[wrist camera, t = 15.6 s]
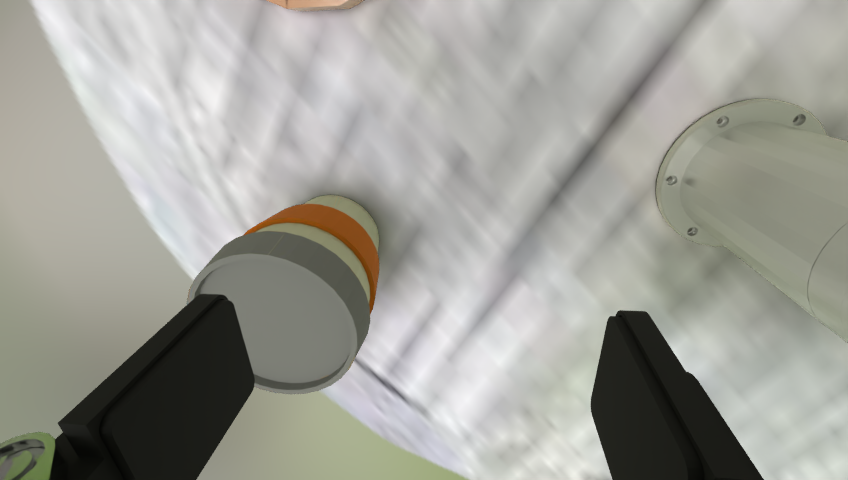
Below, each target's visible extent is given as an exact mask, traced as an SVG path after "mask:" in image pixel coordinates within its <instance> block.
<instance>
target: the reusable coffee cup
mask: <svg viewBox="0 0 848 480" xmlns="http://www.w3.org/2000/svg"><path fill="white" fill-rule="evenodd" d="M378 247H379V234H378V230H377V227H376V224H375V222H374V220H373V219H372V217H371V216H370V214H369V213H368V212H367V211H366V210H365V209H364V208H363V207H362V206H360V205H359V204H357V203H356V202H354V201H352V200H350V199H348V198H345V197H341V196H337V195H325V196H319V197H316V198H313V199H311V200H310V201H308V202H306V203H304V204H301V205H295V206H292V207H289V208H287V209H284V210H283V211H281V212H279V213H277V214H275V215H274V216H272V217H270V218H268V219H266V220H265V221H263V222H261V223H259V224H258V225H256V226H254V227H253V228H251V229H250V230H248V231H247V232H246V233H245V234H244V235H243V236H241V237H238V238H236V239H234V240H232V241H231V242H229V243H228V244H226V245H224V247H223V248H222V249H221V250H220V251H219V252H218V253H217V254H216V255H215V256H214V257H213V258H212V260H211V261H210V262H209V263H208V264H207V265H206V266H205V268H204V269H203V270H202V271H201V272H200V273H199V274H198V276H197V277H196V278H195V280H194V282H193V284H192V285H191V287H190V289H189V294H188V298H187V305H188V304H189V303H190V302H191V301H192V300H193V299H194V298H195V297H196V296H198V295H199V294H222V295H225V296H226V297H227V298H228V300H229V301H232V302H233V304H234V307H235V311H236V314H237V318H238V321H239V325H240V328H241V332H242V335H243V339H244V342H245V346H246V349H247V353H248V356H249V360H250V363H251V367H252V370H253V374H254V378H255V384H254V387H256V388H259V389H262V390H266V391H270V392H275V393H283V394H304V393H310V392H314V391H319V390H321V389H323V388H326V387H328V386H331V385H332V384H333V383H335V382H336V381H338V380H339V379H341V378H342V376H343V375H344V374H345V373H346V372H347V371H348V370H349V368H350V366H351V364H352V363H353V361H354V359H355V357H356V355H357V353H358V351H359V349H360V347H361V346H362V344H363V342H364V340H365V338H366V336H367V334H368V329H369V324H370V314H371V312H372V310H373V305H374V301H375V295H376V288H377V282H378V275H379V258H378V254H377V253H378Z"/></svg>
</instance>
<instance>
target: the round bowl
mask: <svg viewBox="0 0 848 480" xmlns="http://www.w3.org/2000/svg"><path fill="white" fill-rule="evenodd" d="M267 1H269V2H272V3H274V4H277V5H279V6H282V7H284V8H286V9H291V10H297V11H319V10H337V9H351V8H352V7H354V6H356V5H358V4H359V3H361V2H363V1H365V0H267Z"/></svg>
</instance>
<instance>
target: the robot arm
mask: <svg viewBox="0 0 848 480" xmlns="http://www.w3.org/2000/svg"><path fill="white" fill-rule="evenodd" d="M718 119H719V121H718V122H717V120H718ZM668 177H670V178H669V179H668V180H667V178H668ZM656 197H657V203H658V207H659V209H660V212H661V214H662V216H663V218H664V219H665V220H666V222H667V223H668V224H669V226H671V227H672V228H673V229H674V230H675V231H676V232H677V233H678V234H680V235H681V236H683V237H684V238H686V239H688V240H690V241H693V242H695V243H698V244H702V245H707V246H713V247H726V248H728V249H729V250H730V251H731V252H733V253H734V254H735V255H736V256H738V257H739V258H740V259H741V260H743V261H744V262H745V263H746V264H748V265H749V266H750V267H751V268H753V269H754V270H755V271H756V272H758V273H759V274H760V275H762V276H763V277H764V278H765V279H767V280H768V281H769V282H770V283H772V284H773V285H774V286H775V287H777V288H778V289H779V290H780V291H782V292H783V293H784V294H785V295H787V296H788V297H789V298H790V299H792V300H793V301H794V302H795V303H797V304H798V305H799V306H801V307H802V308H803V309H804V310H806V311H807V312H808V313H809V314H811V315H812V316H813V317H814V318H816V319H817V320H818V321H819V322H821V323H822V324H823V325H825V326H826V327H828V328H829V329H830V330H831V331H833V332H834V333H835V334H836V335H838V336H839V337H840V338H842V339H843V340H844V341H846V342H847V343H848V141H844V140H840V139H837V138H833V137H829V136H827V134H826V132H825V130H824V128H823V127H822V125H821V123H820V122H819V121H818V120H817V119H816V118H815V117H814V116H813V115H812V114H811V113H810V112H808V111H807V110H805V109H803V108H801V107H800V106H798V105H794V104H791V103H787V102H784V101H778V100H771V99H751V100H746V101H741V102H736V103H733V104H730V105H727V106H725V107H722V108H719V109H717V110H715V111H713V112H712V113H710V114H708V115H706V116H704V117H703V118H701V119H700V120H699V121H697V122H696V123H695V124H693V125H692V126H691V127H689V128H688V129H687V130H686V131H685V132H684V133H683V134H682V135H681V136H680V137H679V138H678V139H677V140H676V142H675V143H674V145H673V146H672V147H671V149H670V150H669V152H668V153H667V155H666V157H665V159H664V161H663V163H662V165H661V167H660V171H659V174H658V178H657V185H656ZM254 384H255V378H254V374H253V370H252V367H251V363H250V360H249V356H248V353H247V349H246V346H245V342H244V339H243V335H242V332H241V328H240V325H239V321H238V318H237V314H236V311H235V307H234V304H233V302H232V301H229V300H228V298H227V297H226V296H225V295H222V294H199V295H198V296H196V297H195V298H194V299H193V300H192V301H191V302H190V303H189V304H188V305H187V306H185V307H184V308H183V309H182V310H181V311H180V312H179V313H178V314H177V315H176V316H175V317H173V318H172V319H171V320H170V321H169V322H168V323H167V324H166V325H165V326H164V327H163V328H161V329H160V330H159V331H158V332H157V333H156V334H155V335H154V336H153V337H152V338H150V339H149V340H148V341H147V342H146V343H145V344H144V345H143V346H142V347H141V348H139V349H138V350H137V351H136V352H135V353H134V354H133V355H132V356H131V357H130V358H129V359H127V360H126V361H125V362H124V363H123V364H122V365H121V366H120V367H119V368H118V369H116V370H115V371H114V372H113V373H112V374H111V375H110V376H109V377H108V378H107V379H105V380H104V381H103V382H102V383H101V384H100V385H99V386H98V387H97V388H96V389H95V390H93V391H92V392H91V393H90V394H89V395H88V396H87V397H86V398H85V399H84V400H82V401H81V402H80V403H79V404H78V405H77V406H76V407H75V408H74V409H73V410H72V411H70V412H69V413H68V414H67V415H66V416H65V417H64V418H63V419H62V420H61V421H59V422H58V424H59V426H60V427H61V429H62V431H63V433H62V434H61V435H60V436H59V437H57V438H56V439H55V438H53V437H52V436H51V435H50V434H48V433H43V432H35V433H27V434H24V435H21V436H17V437H14V438H11V439H9V440H7V441H5V442H2V443H0V480H196V479H197V477H198V476H199V474H200V473H201V471H202V470H203V468H204V466H205V465H206V463H207V462H208V460H209V459H210V457H211V455H212V454H213V452H214V451H215V449H216V448H217V446H218V444H219V443H220V441H221V440H222V438H223V437H224V435H225V433H226V432H227V430H228V429H229V427H230V426H231V424H232V422H233V421H234V419H235V418H236V416H237V415H238V413H239V411H240V410H241V408H242V407H243V405H244V403H245V402H246V400H247V399H248V397H249V396H250V394H251V392H252V391H253V388H254ZM591 412H592V416H593V419H594V423H595V426H596V429H597V432H598V435H599V438H600V441H601V445H602V448H603V451H604V454H605V457H606V460H607V463H608V466H609V470H610V473H611V476H612V479H613V480H764V479H763V478H762V476H761V475H760V473H759V472H758V470H757V469H756V467H755V466H754V464H753V463H752V461H751V460H750V458H749V457H748V455H747V454H746V452H745V451H744V449H743V448H742V446H741V445H740V443H739V442H738V440H737V439H736V437H735V436H734V434H733V433H732V431H731V430H730V428H729V427H728V425H727V424H726V422H725V421H724V419H723V418H722V416H721V415H720V413H719V412H718V410H717V409H716V407H715V406H714V404H713V403H712V401H711V400H710V398H709V397H708V395H707V394H706V392H705V391H704V389H703V388H702V386H701V385H700V383H699V382H698V380H697V379H696V378H695V377H694V376H693V375H692V374H690V373H689V372H686V371H685V370H684V368H683V367H682V365H681V363H680V362H679V360H678V359H677V357H676V356H675V354H674V353H673V351H672V350H671V348H670V346H669V345H668V343H667V342H666V340H665V339H664V337H663V336H662V334H661V333H660V331H659V329H658V328H657V326H656V325H655V323H654V322H653V320H652V319H651V317H650V316H649V314H648V313H647V312H644V311H621V310H620V311H618V312H617V314H616V317H615V316H611V317H609V318H608V321H607V326H606V330H605V335H604V340H603V345H602V349H601V354H600V359H599V364H598V368H597V373H596V378H595V383H594V387H593V392H592V397H591Z"/></svg>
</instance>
